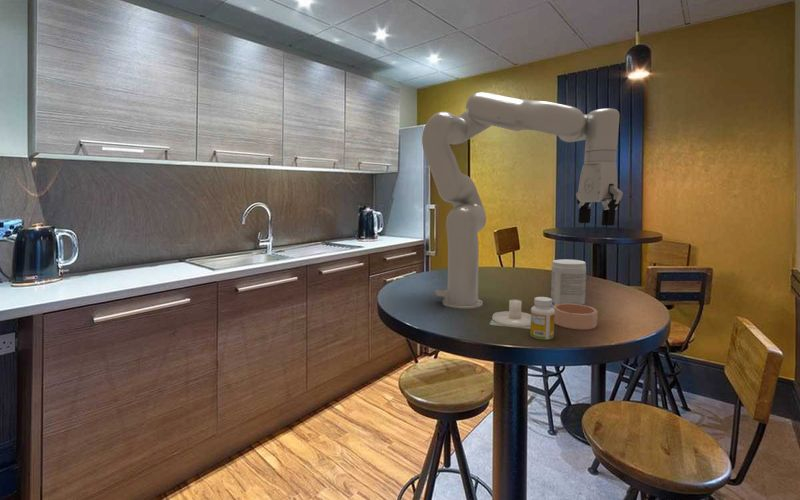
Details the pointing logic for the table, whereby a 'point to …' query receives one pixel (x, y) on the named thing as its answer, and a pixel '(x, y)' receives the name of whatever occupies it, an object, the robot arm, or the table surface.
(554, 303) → the supplement tub
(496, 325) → the mat
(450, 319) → the table surface
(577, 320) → the bowl
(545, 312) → the supplement bottle
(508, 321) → the lid
